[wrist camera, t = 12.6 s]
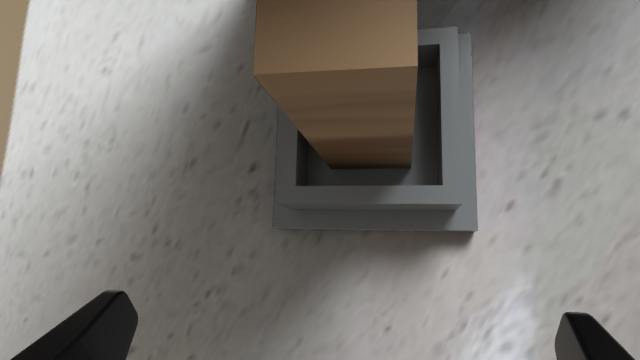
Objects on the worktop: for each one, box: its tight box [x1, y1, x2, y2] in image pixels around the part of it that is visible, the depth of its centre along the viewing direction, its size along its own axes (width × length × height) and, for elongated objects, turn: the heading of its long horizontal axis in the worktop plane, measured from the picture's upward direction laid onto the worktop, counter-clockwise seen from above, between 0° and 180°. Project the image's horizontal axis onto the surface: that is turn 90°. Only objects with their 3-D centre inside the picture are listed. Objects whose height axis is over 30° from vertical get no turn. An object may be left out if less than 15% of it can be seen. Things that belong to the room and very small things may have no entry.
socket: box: [273, 26, 478, 232], centre depth 22 cm, size 10×10×4 cm
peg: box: [253, 0, 418, 169], centre depth 17 cm, size 4×4×12 cm
